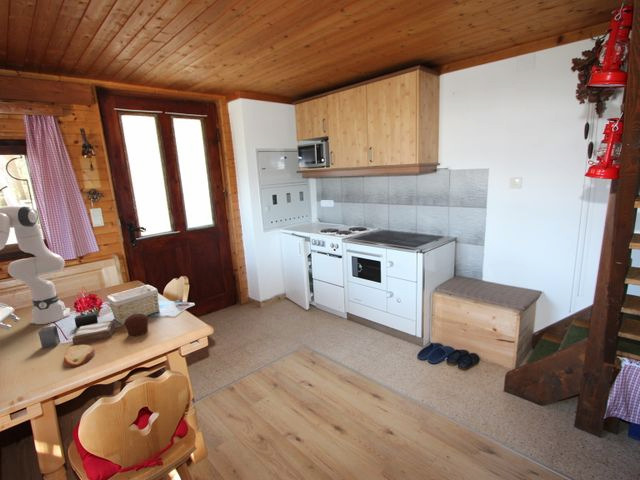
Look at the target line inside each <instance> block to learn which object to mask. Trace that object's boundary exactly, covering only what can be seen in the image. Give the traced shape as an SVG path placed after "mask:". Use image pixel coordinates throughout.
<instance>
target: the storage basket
mask: <svg viewBox="0 0 640 480" xmlns="http://www.w3.org/2000/svg"><path fill="white" fill-rule="evenodd" d="M158 290H159V289H158V288H156V287H154V286H152V285H150V284H145V285H142V286H138V287H135V288H134V287H133V288H131V289H127V290H124V291H120V292H116V293H112V294H109V295H107V296H106V298H107V299H106V300H107V303H109V306H110V309H111V312H112V315H113V318H114V320H115V321H117V322H118V323H119V324H120V323H121V325H124V322H125V320H126V319H127V318H128V317H129V316H131V315H133V314H138V313H139V314H144V315H146V316H147V317H148V316H150V315H153V314H155V313H158V312H159V311H160V304H159V291H158Z"/></svg>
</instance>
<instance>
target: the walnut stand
mask: <svg viewBox="0 0 640 480" xmlns="http://www.w3.org/2000/svg"><path fill="white" fill-rule="evenodd" d="M114 320H115V319H114ZM114 320H107V321H101V322H98V323H96V324H91V325H86V326H81V327H79V328H77V330H76V331H75V333H74V334H73V336H72V338H71V340H72V344H73V345H72V346H75V345H86V344H88V343H93V342H94V343H95V342H97V341H102V340H106V339H107V340H108V339H111V337H112V336H113V333H114V330H115V328H116V324H115V321H114Z"/></svg>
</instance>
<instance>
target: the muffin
mask: <svg viewBox="0 0 640 480" xmlns="http://www.w3.org/2000/svg"><path fill="white" fill-rule="evenodd" d="M149 320H150V319H149V317H148V315H147V316H146V315H144V314H139V313H138V314H133V315H131V316H129V317H128V318H127V319H126V320H125V322H124V324H123V326H125V329H126V331H127V334H128V336H129V337H132V338H133V337H139V336H143V335H145V334H146V333H147V332H148V331H149V324H148V323H149Z"/></svg>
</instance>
